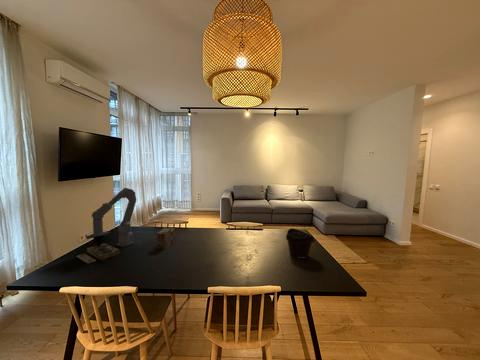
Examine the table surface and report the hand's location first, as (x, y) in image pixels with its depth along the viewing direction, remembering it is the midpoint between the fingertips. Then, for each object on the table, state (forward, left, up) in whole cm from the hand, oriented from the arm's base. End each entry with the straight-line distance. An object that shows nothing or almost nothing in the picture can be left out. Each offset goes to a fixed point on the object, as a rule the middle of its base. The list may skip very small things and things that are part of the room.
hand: (98, 246), depth 154 cm
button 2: (0, +6, -1) cm, 7 cm away
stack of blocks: (-38, +28, -4) cm, 47 cm away
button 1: (0, 0, -3) cm, 3 cm away
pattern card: (+10, +7, -4) cm, 13 cm away
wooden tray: (0, +7, -4) cm, 7 cm away
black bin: (-79, +122, -4) cm, 145 cm away
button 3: (0, +13, -1) cm, 13 cm away
